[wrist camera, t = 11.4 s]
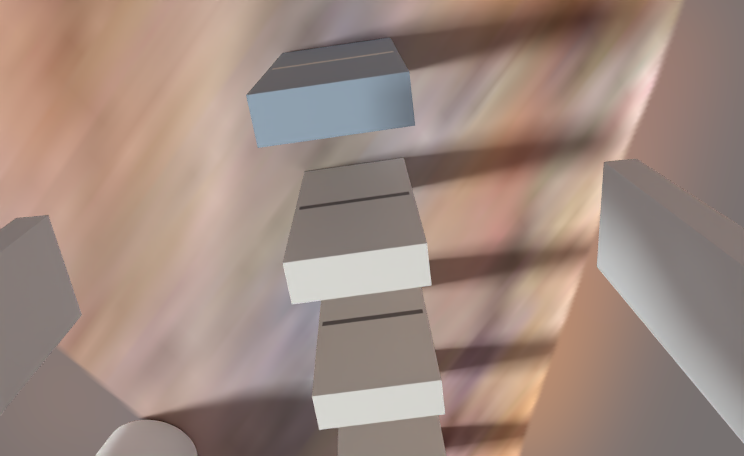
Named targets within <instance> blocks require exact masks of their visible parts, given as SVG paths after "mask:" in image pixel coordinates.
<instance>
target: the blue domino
mask: <svg viewBox="0 0 744 456" xmlns="http://www.w3.org/2000/svg"><path fill="white" fill-rule="evenodd" d="M246 96H247V101H248V105H249V110H250V114H251V119H252V123H253V128H254V132H255V137H256V141H257V146H258V148H260V147H267V146H274V145H281V144H288V143H295V142H302V141H309V140H316V139H323V138H330V137H337V136H344V135H351V134H358V133H365V132H372V131H380V130H387V129H394V128H401V127H408V126H415V121H414V111H413V102H412V93H411V84H410V75H409V70H408V69H407V67H406V65H405V63H404V61H403V60H402V58H401V56H400V54H399V52H398V51H397V49H396V47H395V45H394V43H393V42H392V40H391V38H390V37H389V38H383V39H376V40H369V41H362V42H355V43H348V44H342V45H335V46H328V47H321V48H314V49H307V50H301V51H294V52H287V53H282V54H281V55H280V57H279V58H278V59H277V60H276V61H275V62H274V64H273V65H272V66H271V67H270V68H269V69H268V71H267V72H266V73H265V74H264V75H263V76H262V77H261V79H260V80H259V81H258V82H257V83H256V84H255V86H254V87H253V88H252V89H251V90H250V91H249V93H248V94H247V95H246Z"/></svg>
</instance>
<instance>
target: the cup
mask: <svg viewBox="0 0 744 456" xmlns="http://www.w3.org/2000/svg"><path fill="white" fill-rule="evenodd" d="M96 456H198V455H197V450H196V447H195V445H194V443H193V442H192V440H191V439H190V438H189V437H188V436H187V435H186V434H185V433H184V432H183V431H181V430H180V429H178V428H177V427H175V426H173V425H170V424H168V423H165V422H161V421H156V420H137V421H133V422H129V423H127V424H124V425H122V426H120V427H119V428H118V429H116V430H115V431H114V432H113V433H112V435H111V436H110V437H109V438H108V440H107V441H106V442H105V444H104V445H103V446H102V448H101V449H100V450H99V452H98V453H97V454H96Z"/></svg>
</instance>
